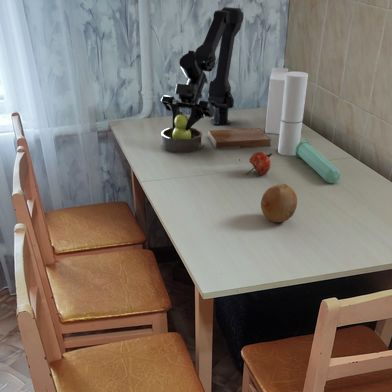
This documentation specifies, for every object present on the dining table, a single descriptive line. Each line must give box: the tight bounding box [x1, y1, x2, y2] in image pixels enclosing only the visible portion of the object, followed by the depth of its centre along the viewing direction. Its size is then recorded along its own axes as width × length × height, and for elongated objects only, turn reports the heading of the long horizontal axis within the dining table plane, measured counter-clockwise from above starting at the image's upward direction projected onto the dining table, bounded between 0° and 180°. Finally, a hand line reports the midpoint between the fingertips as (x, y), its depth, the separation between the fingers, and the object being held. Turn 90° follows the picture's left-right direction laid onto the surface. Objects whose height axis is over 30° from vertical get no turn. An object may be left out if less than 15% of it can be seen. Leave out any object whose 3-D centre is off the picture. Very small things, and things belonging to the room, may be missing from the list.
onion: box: [260, 183, 298, 223], centre depth 145 cm, size 10×10×10 cm
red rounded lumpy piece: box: [245, 151, 273, 176], centre depth 172 cm, size 7×7×10 cm
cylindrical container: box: [277, 71, 309, 157], centre depth 182 cm, size 7×7×25 cm
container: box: [295, 140, 341, 184], centre depth 175 cm, size 6×6×25 cm
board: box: [207, 127, 272, 149], centre depth 198 cm, size 13×20×2 cm, turn 101°
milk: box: [264, 67, 289, 135], centre depth 201 cm, size 6×6×22 cm
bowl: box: [160, 126, 203, 154], centre depth 192 cm, size 14×14×5 cm
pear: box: [172, 111, 191, 139], centre depth 189 cm, size 7×7×12 cm
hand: (179, 128), depth 188 cm, fingers closed on pear, 5 cm apart
